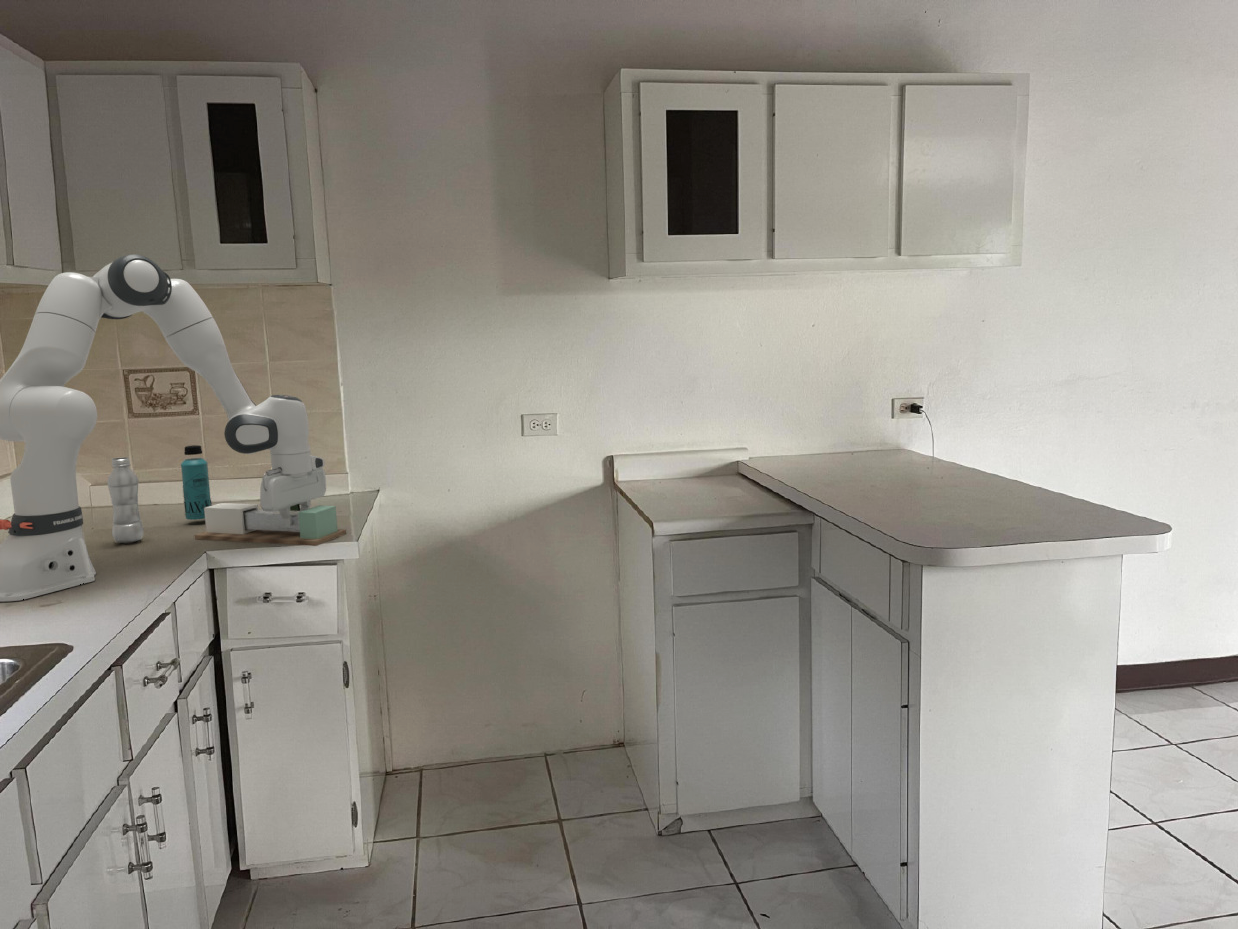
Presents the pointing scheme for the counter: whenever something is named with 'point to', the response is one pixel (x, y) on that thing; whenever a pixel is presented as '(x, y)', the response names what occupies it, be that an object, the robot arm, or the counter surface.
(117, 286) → the robot arm
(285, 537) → the baseboard
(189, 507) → the beverage bottle
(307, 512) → the socket
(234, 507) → the sleeve
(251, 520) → the rectangular peg
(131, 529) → the plastic bottle
